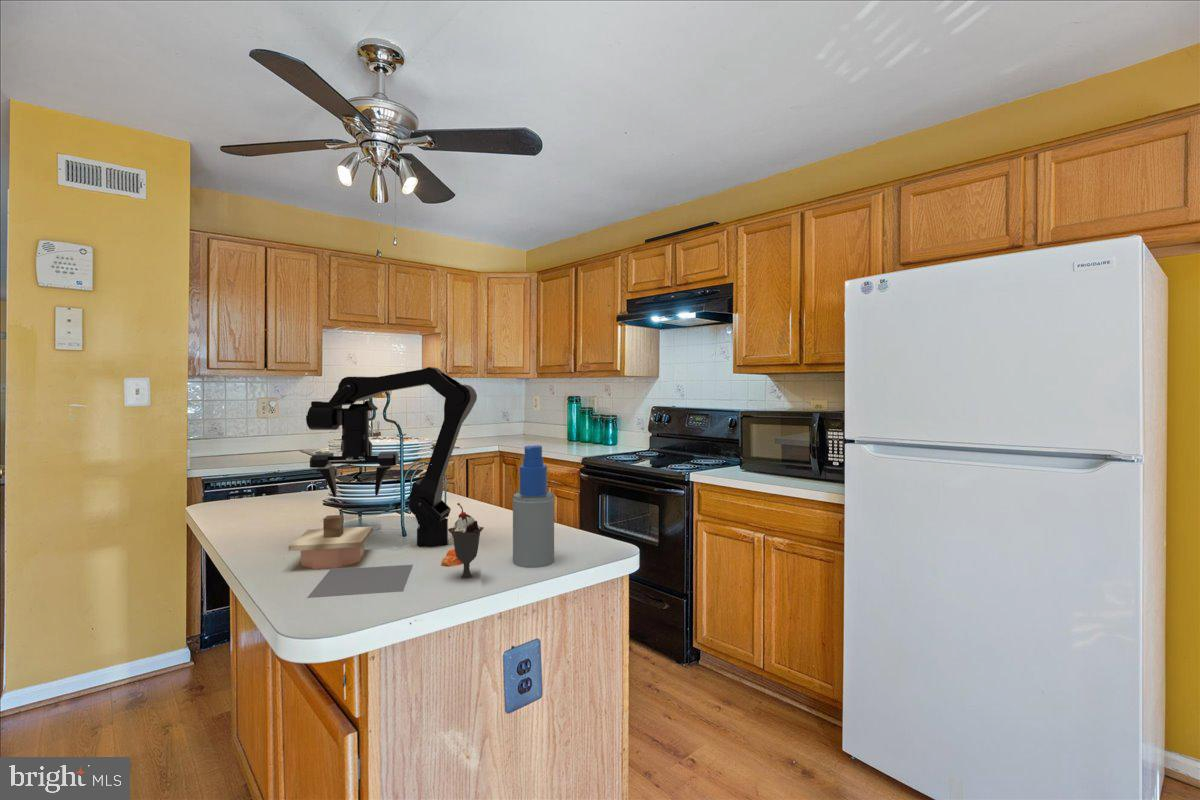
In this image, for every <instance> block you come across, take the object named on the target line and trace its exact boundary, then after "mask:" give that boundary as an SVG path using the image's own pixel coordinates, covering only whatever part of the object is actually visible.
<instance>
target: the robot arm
mask: <svg viewBox="0 0 1200 800" xmlns="http://www.w3.org/2000/svg"><path fill="white" fill-rule="evenodd" d="M427 385H429V386H430V387H431V388H432V389H433V390H435V392H437V393H438V394H439V395H441V396H442V397H443V398H444V406H443V421H442V425H441V427H440V430H439V434H438V435H437V439H436V442H435V445H434V448H433V450H432V453H431V457H430V460H429V463H428V466H427V468H426V471H425V474H424V475H423V478H420V479H418V480H416V481H413V482H412V485H411V490H410V493H409V495H408V497H407V498H406V499H407V500H408V508H409V510H410V512H411V513H412V515H413V516H414V517H415V519H416V522H417V524H418V526H417V529H416V546H417V547H419V548H424V547H425V548H437V547H445V546H449V544H450V543H449V542H450V540H449V531H448V529H449V518H448V517H449V516H450V512H451V510H452V509H451V507H450V506H449V505H448V504H447V503H446V502H445V501H444V500H443V499H442V498H443V491H444V477H445V474H446V471H447V468H448V466H449V463H450V460H451V456H452V454H453V451H454V449H455V446H456V445H455V444H456V441H457V440H458V437H459V433H460V431H461V427H462V425H463V423H464V421H465V420H466V419H467V418H468V416H469V414H470V413H471V412H472V409H473V407H474V406H475V404H476V402H477V399H478V395H477V392H476V390H475V388H473V387H472V386H471V385H469V384H462V383H460V382H459V381H457V380H456V379H453V378H452V377H450V376H449V375H447V374H446V373H444V372H443V371H442V370H441V369H440V368H438V367H434V366H427V367H425V368H423V369H421V368H420V369H415V370H411V371H403V372H399V373H393V374H392V373H391V374H387V375H382V376H346V377H343V378H342V379H340V382H339V383H338V385H337V390H336V392H335V393H334V394H333V395H332V397H331V398H330V400H329V401H321V400H313V401H311V402H310V407H309V408H308V411H307V415H305V416H306V417H305V420H306V425H307V428H308V429H309V430H311V431H336V430H338V429H339V428H340V426H341V443H340V451H341V452H342V453H341V455H334V452H319V453H318V452H317V453H315V454H312V455H311V456H310V458H309V468H310V469H313V468H314V469H315V471H316V472H320V473H321V475H322V476H323V478H324V480H325V482H326V484H327V485H328V487H329V490H330V493H331V494H332V497H333V498H336V497H337V492H338V489H337V479H336V465H339V464H341V465H344V464H347V465H348V464H377V463H378V466H377V467H376V472H375V486H374V492H375V494H374V495H375V496H379V492H380V490H381V486H382V483H383V480H384V477H385V476H386V473H387V471H388V470H391V469H392V468H394V466H397V465H398V464H399V462H400V459H399V458H400V455H399V453H398V452H397V451H381V452H379V453H378V454H373V443H372V442H371V440H370V436H369V412H371V411H373V412H374V411H378V407H377V406H376V405H375V404H374V403H373V402H372V401H371V400H369V399H372V398H374V397H377V396H379V395H381V394H383V393H387V392H392V391H397V390H402V389H403V390H405V389H409V388H415V387H422V386H427ZM363 401H364V402H363ZM357 402H363V403H357ZM343 406H348V407H344V408H343ZM348 458H349V459H348ZM430 464H432V465H430Z"/></svg>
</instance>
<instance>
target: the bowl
mask: <svg viewBox="0 0 1200 800" xmlns="http://www.w3.org/2000/svg"><path fill="white" fill-rule="evenodd" d="M364 557H365V543H364V544H363V545H362V547H352V548H333V549H314V550H300V559H301V560H300V565H301V566H303V567H307V568H310V569H313V570H316V569H317V570H318V569H319V570H320V569H339V568H342V567H345V566H349V565H353V564H356V563H359V562H361V560H362V559H363V558H364Z"/></svg>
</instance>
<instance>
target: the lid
mask: <svg viewBox="0 0 1200 800" xmlns="http://www.w3.org/2000/svg"><path fill="white" fill-rule="evenodd" d="M373 532H374V526H359V527H355V526H353V527H344V514H336V515H335V514H334V515H326V516H325V517H324V518H323V528H316V529H315V528H312V529H307V530H306V531H305V532H304V533H303V534H301V535H299V537H297V538H296V539H295V540H294V541H292V543H290V544H289V545H288V552H289V551H290V552H292V551H293V552H295V551H301V550H314V549H333V548H352V547H362V545H363V544H364V545H365V543H366V541H367V540H368V539H369V537H370V536H371V534H372V533H373Z"/></svg>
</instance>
